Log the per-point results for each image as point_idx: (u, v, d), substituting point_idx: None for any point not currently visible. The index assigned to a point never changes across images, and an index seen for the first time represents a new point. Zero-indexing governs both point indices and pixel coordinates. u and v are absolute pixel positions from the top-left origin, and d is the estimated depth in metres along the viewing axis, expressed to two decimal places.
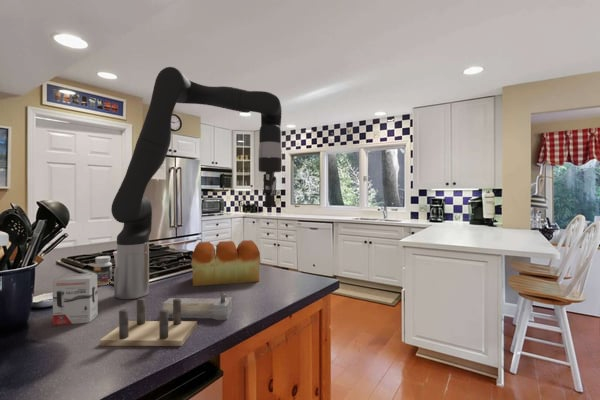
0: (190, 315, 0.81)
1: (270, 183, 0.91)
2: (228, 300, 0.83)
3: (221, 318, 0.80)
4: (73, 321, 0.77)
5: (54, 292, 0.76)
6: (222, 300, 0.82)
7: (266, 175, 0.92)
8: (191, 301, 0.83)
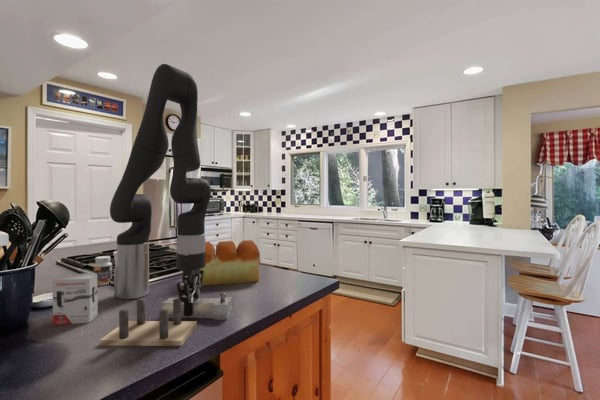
0: None
1: (186, 293, 0.77)
2: (228, 300, 0.83)
3: (221, 317, 0.80)
4: (73, 321, 0.77)
5: (54, 292, 0.76)
6: (222, 300, 0.82)
7: (180, 285, 0.76)
8: None
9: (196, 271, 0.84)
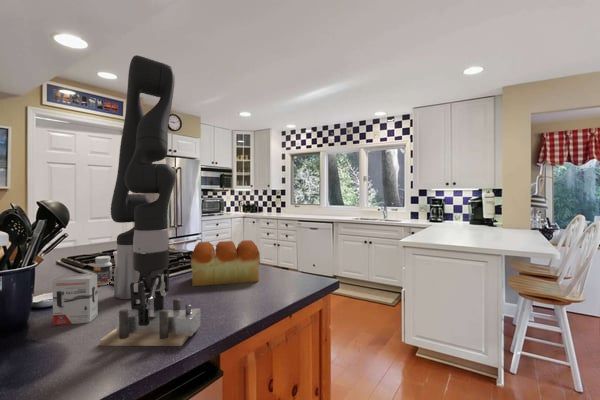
0: (149, 330, 0.69)
1: (140, 297, 0.64)
2: (194, 312, 0.71)
3: (185, 334, 0.68)
4: (73, 321, 0.77)
5: (54, 292, 0.76)
6: (187, 312, 0.70)
7: (133, 286, 0.64)
8: (151, 314, 0.71)
9: (158, 272, 0.72)
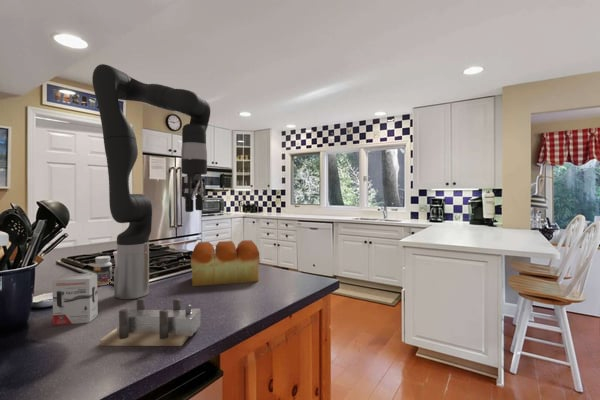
0: (149, 330, 0.69)
1: (188, 186, 0.86)
2: (194, 312, 0.71)
3: (185, 334, 0.68)
4: (73, 321, 0.77)
5: (54, 292, 0.76)
6: (187, 312, 0.70)
7: (184, 178, 0.87)
8: (151, 314, 0.71)
9: (198, 178, 0.94)
